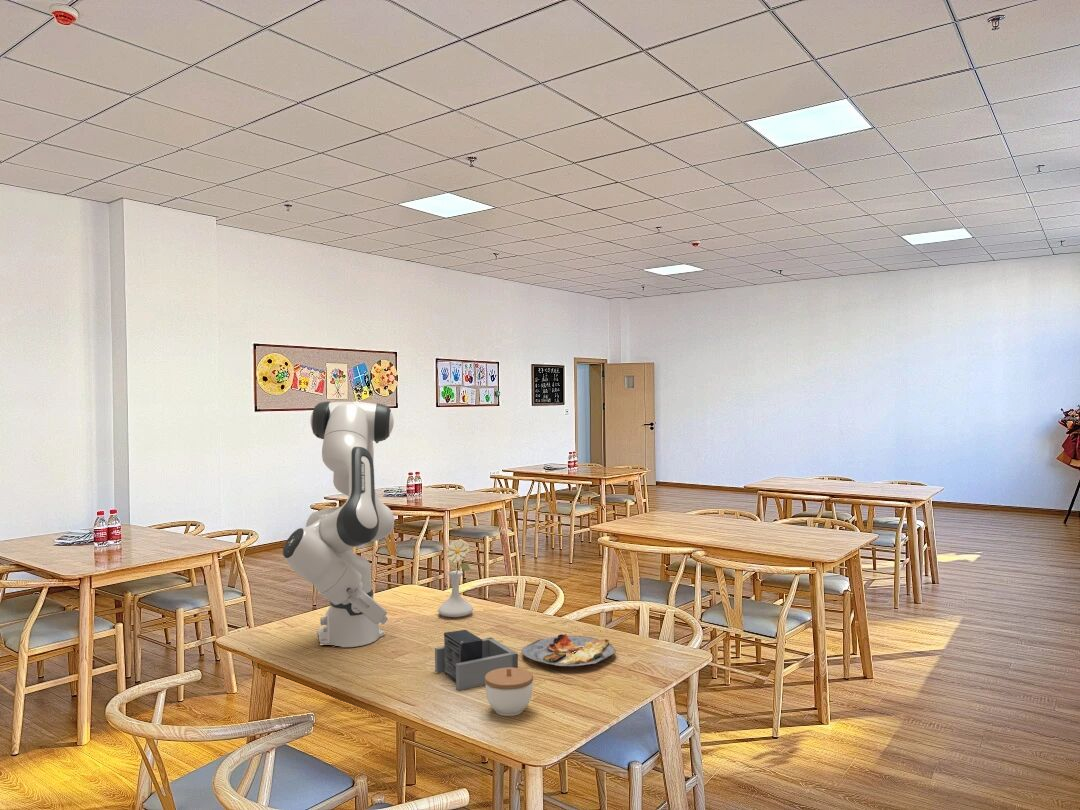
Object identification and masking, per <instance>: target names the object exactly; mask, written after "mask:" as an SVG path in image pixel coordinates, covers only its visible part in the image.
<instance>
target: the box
mask: <svg viewBox="0 0 1080 810" xmlns="http://www.w3.org/2000/svg"><path fill="white" fill-rule="evenodd" d="M481 639H482V640H483V641H482V658H481V659H476V660H471V661H466V662H461V663H456V682H455V689H456V690H457V691H463V690H467V689H473V688H476V687H481V686H485V675H486V674H487V673H488V672H490V671H492V670H495V669H499V668H510V667H512V668H519V654H518V652H516V651H514V650H513V649H511V648H510V647H508V646H506V645H504V644H503V643H502V642H500V641H499V640H496V639H494V638H493V637H486V638H481ZM444 646H445V645H443V646H438V647H434V672H435V673H436V674H439V673H444Z"/></svg>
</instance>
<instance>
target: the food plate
mask: <svg viewBox="0 0 1080 810" xmlns="http://www.w3.org/2000/svg"><path fill="white" fill-rule="evenodd" d="M578 646H584V647H578ZM574 651H576V653H575V654H572V655H571V656H569V657H568V656H567V657H566V654H567V653H572V652H574ZM616 652H617V651H616V649H615V648H614V647H613V645H612V644H611V643H610V639H597V638H594V637H592V636H591V637H589V636H581V635H577V636H576V635H567V633H564V634H562V633H561V634H558V635H557V636H551V637H547V638H546V637H545V638H541V639H538V640H536V641H533V642H531V643H528V644H527V645H524V646H523V647H522V649H521V654H522V656H525V657H526V658H529V659H530V660H533V661H535V662H539V663H541V664H547V665H553V666H556V667H564V668H565V667H566V668H571V669H572V668H576V667H580V666H585V665H591V664H593V665H595V664H597V663H598V662H602V661H603V660H605V659H607V658H608V657H610V656H613V655H614V654H615V653H616Z"/></svg>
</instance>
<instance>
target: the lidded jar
mask: <svg viewBox="0 0 1080 810" xmlns="http://www.w3.org/2000/svg"><path fill="white" fill-rule="evenodd" d="M533 681H534V674H533V673H532V672H531V671H530V670H527V669H525V668H521V667H518V668H512V667H510V668H499V669H495V670H492V671H490V672H488V673H487V674H486V675H485V685H484V686H485V694H486V700H487V702H488V704H489V705H490V707H491V708H492V709H493V710H494V711H495V713H496V714H497V715H500V716H503V717H513V716H514V717H515V716H518V715H521V714H522V713H523V712H524V710H525V709H526V708H527V706H528V705H529V704H530V701H531V699H532V695H533V687H534V686H533V685H534V684H533Z"/></svg>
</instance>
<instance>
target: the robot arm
mask: <svg viewBox="0 0 1080 810" xmlns="http://www.w3.org/2000/svg"><path fill="white" fill-rule="evenodd" d="M309 420H310V426H311V431H312V433H313V435H314V436H315V437H316V438H317V439H320V440H323V441H322V448H321V458H322V462H323V464H324V466H326V468H327V469H329V470H330V471H331V472H333V475H332V477H333V480H332V481H333V482H332V483H333V486H334V488H335V489H336V490H337V491H338V492H339V493H341V494H343V495H345V496H348V497H347V499H346V501H345V502H344V503H343V504H342V505H341V506H336V507H335V506H334V507H326V508H324V509H320V510H317V511H313V512H312V513H311V514H310V515H309V517H308V519H307V520H306V524H305V527H300V528H297V529H295V531H293V532H292V533H291V534H290V535H289V537H288V538H287V539H286V541H285V542H284V545H283V548H282V556H283V558H284V560H285V562H286V563H287V564H288V565H289V567H290V568H291V569H292V570H293V571H294V572H295V573H296V574H298V576H300V577H301V578H302V579H303V580H304V581H306V582H308V583H310V584H311V585H313V586H314V587H315V588H316V590H317V591H318V593H320V594H321V595H322V596H323V597H324V598H325V599H327V600H328V601H329V602H330V603H329V605H330V606H329V608H328V609H327V611H326V612H325V616H321V617H320V621H319V622H320V623H319V624H320V626H321V627H319V628H317V636H318V635H319V637H318V643H319V642H320V644H323V645H335V646H342V647H341V648H353V647H355V648H356V647H361V646H365V645H370V644H372V643H374V642H376V641H377V640H378V639H379V638H381V637H383V636H385V631H384V630H382V629H380V624H381V625H385V624H386V622H387V621H388V617H387V615H388V612H387V610H386V609H385V608H384V607H382V605H381V604H379V603H378V602H377V601H376V600H375V599H374V592H373V591H374V590H373V589H372V566H371V563H370V561H369V560H368V559H366V558H365V557H363V556H361V555H359V554H356V553H354V552H353V549H354V548H356V547H358V546H361V545H364V544H367V543H369V542H376V541H379V540H381V539H385V538H387V537H389V536H390V534H392V532H393V529H394V528H395V517H394V513H393V511H392V510H391V509H390V507H389V506H388V505H386V504H384V503H383V501H381V500H380V498H379V497H378V495H377V493H376V490H375V489H376V488H375V486H376V485H375V467H374V458H375V457H374V451H375V449H374V442H375V444H379V442H383V441H385V440H387V439H388V438H389V437H390V435H391V434H392V432H393V428H394V422H395V420H394V416H393V413H392V410H391V408H390V407H389V406H388V405H387V404H383V403H379V402H378V403H371V402H365V401H357V400H355V401H334V402H331V401H322V402H319V403H317V404H316V405H314V408H313V410H312V411H311V415H310V419H309ZM335 646H334V647H335Z"/></svg>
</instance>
